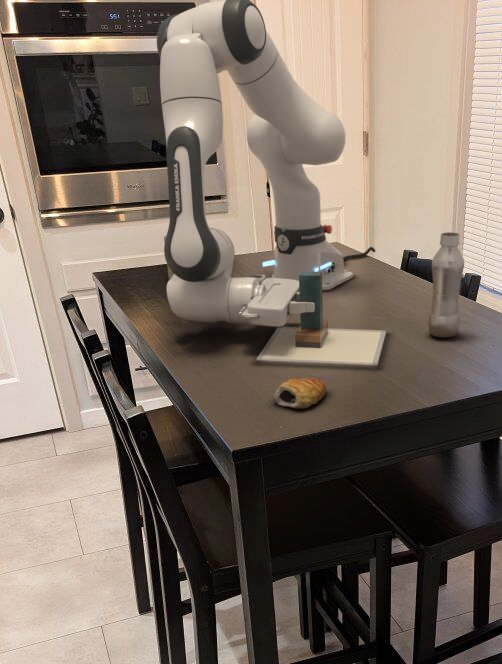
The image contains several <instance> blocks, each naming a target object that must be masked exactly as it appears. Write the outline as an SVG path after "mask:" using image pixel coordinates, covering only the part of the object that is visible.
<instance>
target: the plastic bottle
mask: <svg viewBox="0 0 502 664" xmlns="http://www.w3.org/2000/svg"><path fill="white" fill-rule="evenodd" d="M439 245H440V248H439V249H437V251H436V253H435V254H434V256H433V258H432V261H431V272H432V290H433V291H432V299H431V306H430V307H431V308H430V312H429V315H428V316H429V317H428V321H427V327H428V330H429V333H430V335H432V336H434V337H437V338H451V337H455V336H456V335H457V334H458V332H459V330H460V325H461V317H460V316H461V315H460V313H459V312H460V290H461V283H462V278H463V274H464V268H465V259H464V256H463V254H462V252H461V250H460V249H459V245H460V233H458V232H442V233H440V239H439Z"/></svg>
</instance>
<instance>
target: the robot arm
mask: <svg viewBox="0 0 502 664" xmlns="http://www.w3.org/2000/svg"><path fill="white" fill-rule="evenodd" d="M265 23H266V22H265V20H264V17H263V15H262V13H261V11H260V9H259V8H258V7H257V5H256V4H255V3H254V2H252V1H251V0H214V1H209V2H206V3H201V4H198V6H196V7H192V8H189V9H187V10H185V11H182V12H180V13H175V14H172V15H170V16H168V17H167V18H165V20H163V21H162V22H161V24H160V25H159V27H158V30H157V35H156V50H157V52H158V53H157V54H158V56H159V59H160V60H159V61H160V62H159V63H160V64H159V87H160V88H159V90H160V101H161V109H162V119H163V125H164V126H163V127H164V133H165V141H166V142H165V145H166V146H165V147H166V168H167V172H166V173H167V189H168V203H169V223H168V229H167V233H166V235H167V236H166V240H165V243H164V246H163V248H164V249H163V254H164V259H165V262H166V265H167V264H168V266H169V268H170V269H171V271H172V272H173V273H174V275H173V277H172V278H171V279H170V280H169V279H168V281H167V283H166V293H165V294H166V301H167V303H168V306H169V308H170V310H171V311H172V313H173V314H174V315H175V317H177V318H178V319H179V318H180V319H181V320H185V321H188V322H189V321H190V322H196V323H197V322H198V323H218V322H226V323H229V324H240V325H254V326H255V325H256V326H264V327H275V328H278V327H284V326H285V325H286V323H287V322H288V321H289V319H290V317H291V316H292V315H300V313H305V312H314V311H315V309H316V303H315V302H314V301H306V302H300V293H299V274H300V273H301V272H302V271H312V272H322V291H330V290H332V289H334V288H335V287H338V286H340V285H341V284H343V283H345V282H347V281H349V280H351V279H352V278H354V273H353V272H352V271H349V270H347V269H345V263H344V262H345V261H346V260H350V259H351V260H352V259H357V258H358V259H359V258H363V257H365V256H367V255H369V253H370V252H372V253H376V249H375V248H374V247H373V246H369V247H368V248H367V249H366V251H364V252H362V253H357V254H349V255H345V256H343V254H342V252H340V251H339V250H338V249H337V248H336V247H334V246H333V245H332V244H331V243H330V242H329V241H327V236H326V234H328V235H330V234H332V233H333V226H332V225H331V224H322V221H321V220H322V219H321V218H322V217H321V215H322V214H321V213H322V212H321V209H322V208H321V193H320V190H319V188H318V186H317V185H316V184H315V183H313V182H312V181H311V180H310V179H309V177H308V176H307V173H306V171H305V168H304V165H309V166H320V165H321V166H322V165H327V164H331V163H334V162H336V161H338V160H339V158H340V157H341V156H342V155H343V152H344V150H345V146H346V140H347V137H346V136H347V135H346V131H345V127H344V124H343V123H342V121H341V119H340V118H339V117H338V116H336V115H335V114H332V113H330V112H329V111H327V110H326V109H324V108H323V107H321V105H319V103H317V102H316V101H314V99H313V98H311V96H309V94H307V92H306V91H305V90H304V89H303V88H302V87H301V86H300V85H299V84H298V83H297V81H296V80H295V79H294V77H293V76H292V74H291V72H290V70H289V68H288V67H287V65H286V63H285V61H284V59H283V58H282V55H281V54H280V52H279V50H278V48H277V46H276V44H275V43H274V40H273V38H272V37H271V36H270V33H269V32H268V30H267V28H266V24H265ZM225 71H227V72H228V74H229V76H230V78H231V80H232V82H233V84H234V85H235V86H236V89H237V90H238V91H239V93H240V95H241V96H242V98H243V100H244V102H245V104H246V105H247V106H248V108H249V109H250V110H251V112H252V113H254V115H252V117H251V118H250V119H249V122H248V124H247V127H246V128H247V129H246V141H247V145H248V148H249V150H250V151H251V153H252V154H253V155H254V156H255V157H256V158H257V160H259V162H260V163H261V165H262V166H263V168H264V170H265V172H266V175H267V177H268V180H269V183H270V186H271V189H272V195H273V203H274V205H273V206H274V216H275V217H274V219H275V225H274V227H273V228H274V230H273V235H274V242H275V245H276V246H275V247H274V259H272V260H267V261H263V262H262V267H268V266H273V274H272V275H271V277H267V278H266V275H265V274H255V275H252V276H249V277H247V276H246V277H232V276H233V272H234V265H235V255H236V253H235V251H236V250H235V246H234V243H233V241H232V239H231V238H230V237H229V235H227V233H225V232H224V231H222V230H221V229H218V228H214V227H210V225H209V224H208V221H207V217H206V200H205V182H204V179H205V178H204V176H205V175H204V174H205V167H206V165H207V162H208V161H209V159H210V157H211V156H213V155H214V154H215V153H216V151H218V149H219V147H220V146H221V144H222V142H223V131H224V112H223V103H222V102H223V101H222V95H221V87H220V81H219V77H218V76H219V75H218V74H220V73H223V72H225Z"/></svg>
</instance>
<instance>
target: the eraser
mask: <svg viewBox="0 0 502 664" xmlns="http://www.w3.org/2000/svg"><path fill="white" fill-rule="evenodd" d="M299 293H300V302H306V301H314V302H315V303H316V309H315V311H314V312H305V313H300V314H299V320H300V325H299V326H298V327H299V329H298V331H297V332H296V334H295V346H296V347H313V348H321V346H322V343H323V341H324V339H325V337H326V335H327V333H328V328H329V320H328V319H324V313H323V311H324V310H323V309H324V308H323V307H324V306H323V303H324V302H323V290H322V272H312V271H302V272H301V273H300V274H299Z"/></svg>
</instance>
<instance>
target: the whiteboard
mask: <svg viewBox="0 0 502 664" xmlns="http://www.w3.org/2000/svg"><path fill="white" fill-rule="evenodd" d="M299 327H300V326H278V327H276V329H275V330H274V332H273V334H272V335H271V337H270V338H269V339H268V341H267V343H266V344H265V346H264V347H263V348H262V350H261V351H260V352H259V355H258V356H257V357H256V358H255V361H263V362H264V361H265V362H284V363H285V362H286V363H287V362H289V363H307V364H308V363H311V364H333V365H334V364H335V365H336V364H337V365H354V366H355V365H358V366H378V364H379V360H380V356H381V353H382V349H383V345H384V341H385V338H386V334H387V330H385V329H384V330H380V329H378V330H377V329H353V328H352V329H351V328H329V327H328V333H327V335H326V337H325V339H324V341H323V343H322V346H321V348H313V347H296V346H295V334H296V332H297V331H298V329H299Z"/></svg>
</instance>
